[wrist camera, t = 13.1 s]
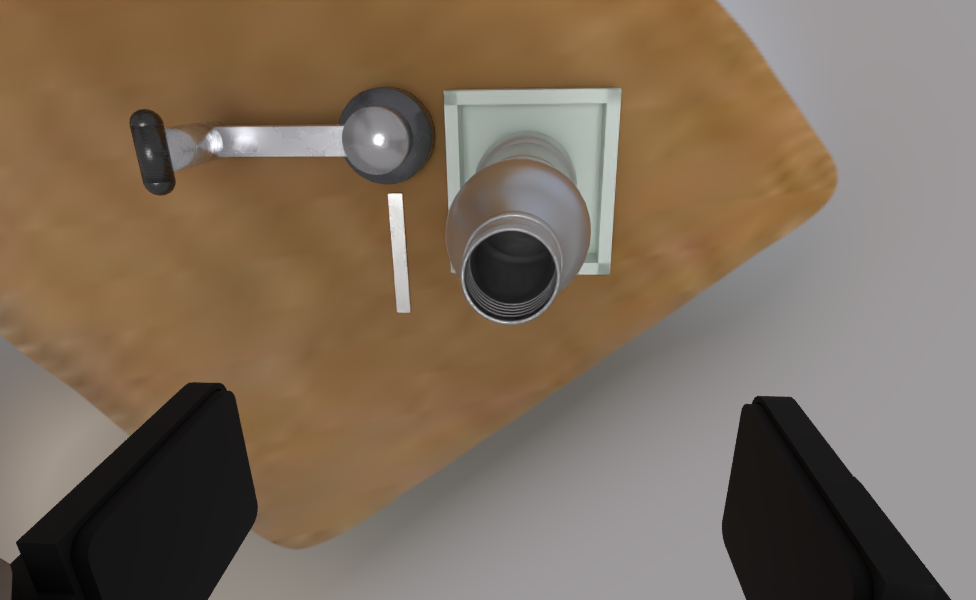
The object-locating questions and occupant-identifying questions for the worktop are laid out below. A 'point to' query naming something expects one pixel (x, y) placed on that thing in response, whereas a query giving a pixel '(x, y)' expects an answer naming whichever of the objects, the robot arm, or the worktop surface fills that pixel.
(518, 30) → the worktop surface
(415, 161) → the crank base
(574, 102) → the tray
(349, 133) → the crank
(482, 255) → the metal bottle
